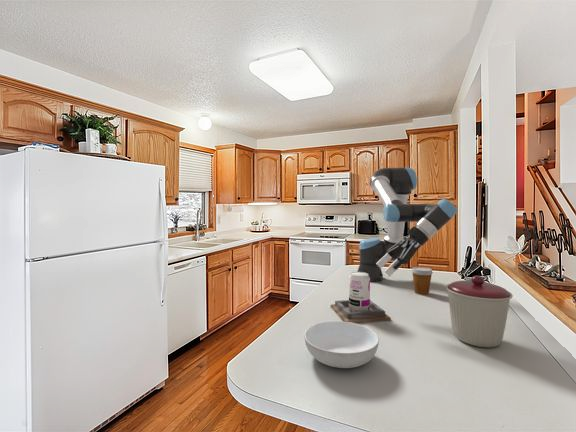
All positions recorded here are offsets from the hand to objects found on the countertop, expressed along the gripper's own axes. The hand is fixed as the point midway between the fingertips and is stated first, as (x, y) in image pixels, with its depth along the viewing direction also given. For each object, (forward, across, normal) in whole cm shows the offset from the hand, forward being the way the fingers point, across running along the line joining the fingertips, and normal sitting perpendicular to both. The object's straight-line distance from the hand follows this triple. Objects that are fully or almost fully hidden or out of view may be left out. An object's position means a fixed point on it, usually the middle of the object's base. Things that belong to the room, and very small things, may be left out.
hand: (382, 269), depth 119 cm
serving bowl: (+27, -36, +2) cm, 45 cm away
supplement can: (+18, 0, -6) cm, 19 cm away
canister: (-5, -22, -30) cm, 38 cm away
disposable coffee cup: (-6, +29, -31) cm, 43 cm away
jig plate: (+19, 0, -6) cm, 20 cm away
